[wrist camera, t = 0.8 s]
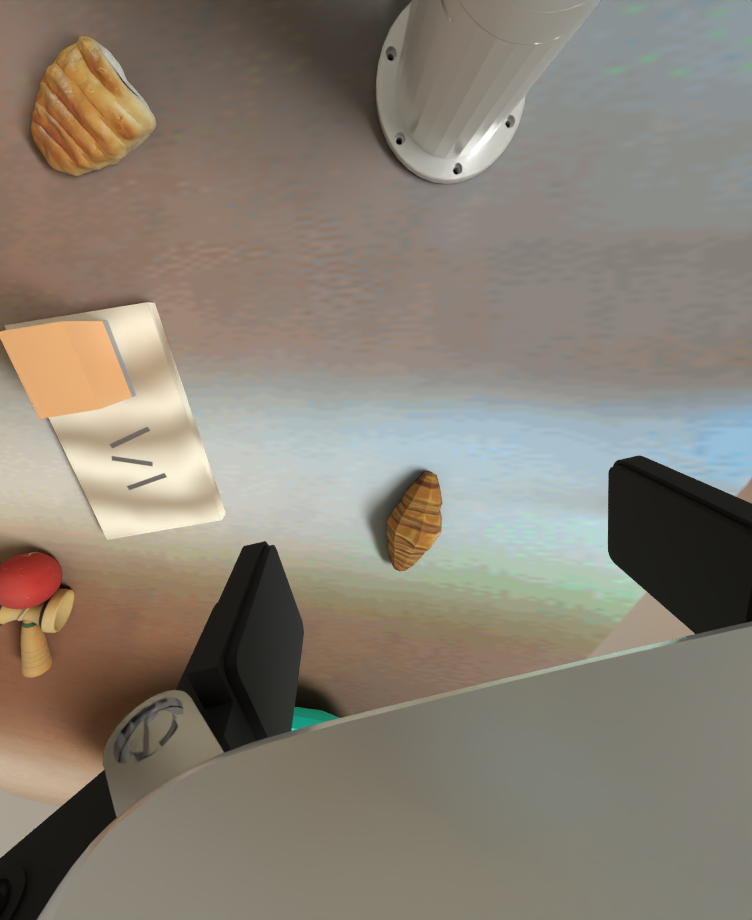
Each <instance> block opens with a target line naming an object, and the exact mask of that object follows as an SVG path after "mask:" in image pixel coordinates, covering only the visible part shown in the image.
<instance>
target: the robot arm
mask: <svg viewBox="0 0 752 920" xmlns="http://www.w3.org/2000/svg"><path fill="white" fill-rule="evenodd" d="M600 1H601V0H412V1H411V2H410V3H409V4H408V5H407V6H406V7H405V8H404V9H403V10H402V12H401V13H400V14H399V16H398V17H397V19H396V20H395V22H394V23H393V25H392V26H391V28H390V30H389V33H388V35H387V37H386V39H385V42H384V44H383V47H382V51H381V55H380V59H379V63H378V69H377V77H376V104H377V112H378V117H379V121H380V125H381V128H382V132H383V134H384V136H385V138H386V140H387V143H388V145H389V147H390V148H391V150H392V151H393V153H394V154H395V156H396V157H397V159H398V160H399V161H400V162H401V163H402V164H403V165H404V166H405V167H406V168H407V169H408V170H410V171H411V172H413V173H414V174H416V175H417V176H419V177H420V178H423V179H426V180H428V181H431V182H435V183H443V184H450V183H459V182H462V181H465V180H468V179H471V178H473V177H475V176H476V175H478V174H480V173H481V172H483V171H484V170H485V169H487V168H488V167H489V166H490V165H491V164H492V163H493V162H494V161H495V160H496V159H497V158H498V157H499V156H500V155H501V154H502V153H503V151H504V150H505V148H506V147H507V145H508V144H509V142H510V141H511V139H512V137H513V135H514V133H515V131H516V129H517V127H518V125H519V122H520V118H521V115H522V111H523V108H524V103H525V96H526V93H527V92H528V91H529V90H530V88H531V87H532V86H533V85H534V83H535V82H536V81H537V80H538V78H539V77H540V76H541V75H542V74H543V72H544V71H545V70H546V69H547V67H548V66H549V65H550V64H551V62H552V61H553V60H554V59H555V57H556V56H557V55H558V54H559V52H560V51H561V50H562V49H563V48H564V46H565V45H566V44H567V43H568V41H569V40H570V39H571V38H572V36H573V35H574V34H575V33H576V31H577V30H578V29H579V28H580V26H581V25H582V24H583V23H584V21H585V20H586V19H587V18H588V17H589V15H590V14H591V13H592V12H593V10H594V9H595V8H596V6H597V5H598V4H599V2H600ZM389 57H391V58H392V59H393V61H390V60H388V59H387V58H389ZM505 123H506V124H508V128H507V126H506V125H505ZM397 140H400V141H401V143H402V144H401V145H398V144H397V143H396V141H397ZM454 169H455V170H457V175H455V174H454V173H453V170H454ZM608 552H609V556H610V558H611V559H612V561H613V562H614V563H615V564H616V565H617V566H618V567H619V568H620V569H622V570H623V571H624V572H625V573H626V574H627V575H629V576H630V577H631V578H632V579H633V580H634V581H635V582H637V583H638V584H639V585H640V586H641V587H642V588H643V589H645V590H646V591H647V592H648V593H649V594H650V595H651V596H653V597H654V598H655V599H656V600H657V601H658V602H660V603H661V604H662V605H663V606H664V607H665V608H666V609H667V610H669V611H670V612H671V613H672V614H673V615H674V616H676V617H677V618H678V619H679V620H680V621H681V622H682V623H684V624H685V625H686V626H687V627H688V628H689V629H690V630H692V631H693V632H694V633H695V634H694V635H691V636H686V637H681V638H677V639H672V640H668V641H664V642H659V643H655V644H650V645H646V646H642V647H637V648H633V649H629V650H624V651H620V652H616V653H611V654H607V655H603V656H598V657H594V658H590V659H585V660H581V661H577V662H573V663H568V664H564V665H560V666H555V667H551V668H547V669H543V670H538V671H534V672H530V673H526V674H521V675H517V676H513V677H508V678H504V679H500V680H496V681H491V682H487V683H483V684H479V685H475V686H471V687H466V688H462V689H458V690H454V691H450V692H446V693H441V694H437V695H433V696H429V697H425V698H421V699H416V700H412V701H408V702H404V703H400V704H395V705H391V706H387V707H383V708H379V709H375V710H370V711H366V712H362V713H358V714H355V715H351V716H347V717H343V718H339V719H335V720H331V721H327V722H323V723H319V724H315V725H311V726H308V727H304V728H300V729H297V730H293V731H292V723H293V715H294V707H295V699H296V691H297V683H298V675H299V667H300V660H301V652H302V644H303V636H304V629H303V623H302V619H301V617H300V614H299V611H298V608H297V605H296V603H295V600H294V597H293V594H292V591H291V589H290V586H289V583H288V580H287V577H286V575H285V572H284V569H283V566H282V563H281V561H280V558H279V555H278V552H277V550H276V547H275V546H274V545H271V546H269V545H268V544H267V542H265V541H264V542H260V543H256V544H251V545H247V546H244V547H243V548H242V550H241V553H240V555H239V557H238V559H237V562H236V564H235V566H234V568H233V570H232V573H231V575H230V577H229V579H228V582H227V584H226V586H225V588H224V590H223V593H222V595H221V597H220V599H219V602H218V603H216V605H215V606H214V608H213V610H212V612H211V614H210V617H209V619H208V621H207V623H206V625H205V628H204V630H203V632H202V634H201V636H200V639H199V641H198V643H197V645H196V647H195V649H194V652H193V654H192V656H191V658H190V660H189V663H188V665H187V667H186V669H185V671H184V673H183V676H182V678H181V680H180V682H179V684H178V687H177V689H176V690H172V691H165V692H163V693H160V694H158V695H155V696H153V697H151V698H149V699H148V700H146V701H145V702H143V703H141V704H140V705H139V706H137V707H136V708H135V709H134V710H133V711H131V712H130V713H129V714H128V715H127V716H126V717H125V718H124V719H123V720H122V721H121V723H120V724H119V725H118V726H117V727H116V728H115V730H114V732H113V733H112V735H111V736H110V738H109V739H108V741H107V744H106V747H105V750H104V752H103V766H104V771H102V772H101V773H100V774H99V775H98V776H97V777H95V778H94V779H93V780H92V781H91V782H90V783H88V784H87V785H86V786H85V787H84V788H82V789H81V790H80V791H79V792H78V793H77V794H75V795H74V796H73V797H72V798H71V799H70V800H68V801H67V802H66V803H65V804H64V805H62V806H61V807H60V808H59V809H58V810H57V811H55V812H54V813H53V814H52V815H51V816H49V817H48V818H47V819H46V820H45V821H44V822H42V823H41V824H40V825H39V826H38V827H37V828H35V829H34V830H33V831H32V832H31V833H29V834H28V835H27V836H26V837H25V838H24V839H22V840H21V841H20V842H19V843H18V844H17V845H15V846H14V847H13V848H12V849H11V850H10V851H8V852H7V853H6V854H5V855H4V856H2V857H1V858H0V920H752V504H751V503H749V502H746V501H744V500H742V499H740V498H737V497H735V496H733V495H731V494H728V493H726V492H724V491H721V490H719V489H717V488H714V487H712V486H710V485H708V484H705V483H703V482H701V481H698V480H696V479H694V478H691V477H689V476H687V475H685V474H682V473H680V472H678V471H675V470H673V469H671V468H668V467H666V466H664V465H662V464H659V463H657V462H655V461H652V460H650V459H648V458H645V457H643V456H635V457H631V458H626V459H622V460H617V461H616V462H615V463H614V465H613V467H611V468H610V470H609V485H608Z"/></svg>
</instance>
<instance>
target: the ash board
mask: <svg viewBox="0 0 752 920" xmlns="http://www.w3.org/2000/svg"><path fill="white" fill-rule="evenodd" d="M61 321H108V323H109V326H110V328H111V331H112V333H113V336H114V339H115V341H116V344H117V346H118V349H119V352H120V354H121V357H122V359H123V362H124V365H125V367H126V370H127V372H128V375H129V378H130V380H131V383H132V385H133V388H134V391H135V393H136V396H134V397H131V398H129V399H126V400H123V401H120V402H118V403H115V404H112V405H110V406H107V407H104V408H101V409H98V410H92V411H86V412H80V413H74V414H68V415H62V416H56V417H50V418H49V420H50V422H51V424H52V426H53V428H54V430H55V432H56V435H57V437H58V439H59V441H60V443H61V445H62V447H63V449H64V451H65V453H66V455H67V457H68V459H69V462H70V464H71V466H72V468H73V470H74V472H75V474H76V476H77V478H78V480H79V482H80V484H81V486H82V489H83V491H84V493H85V495H86V497H87V499H88V501H89V503H90V505H91V507H92V509H93V511H94V514H95V516H96V518H97V520H98V522H99V524H100V526H101V528H102V530H103V532H104V534H105V536H106V538H107V540H109V539H114V538H120V537H126V536H132V535H137V534H143V533H149V532H155V531H161V530H166V529H172V528H178V527H184V526H190V525H195V524H201V523H207V522H213V521H218V520H222V519H223V517H224V516H225V514H226V513H225V510H224V507H223V504H222V501H221V498H220V495H219V492H218V489H217V486H216V483H215V480H214V477H213V474H212V471H211V468H210V465H209V462H208V459H207V456H206V454H205V451H204V448H203V445H202V442H201V439H200V436H199V433H198V430H197V427H196V424H195V421H194V418H193V415H192V412H191V409H190V406H189V403H188V400H187V397H186V394H185V391H184V388H183V385H182V382H181V379H180V376H179V373H178V370H177V368H176V365H175V362H174V359H173V356H172V353H171V350H170V347H169V344H168V341H167V338H166V335H165V332H164V329H163V326H162V323H161V320H160V317H159V314H158V311H157V308H156V305H155V303H149V302H146V303H140V304H134V305H127V306H121V307H115V308H109V309H103V310H96V311H90V312H84V313H78V314H71V315H65V316H59V317H53V318H47V319H40V320H34V321H28V322H22V323H15V324H9V325H4V326H5V328H6V330H11V329H17V328H23V327H30V326H36V325H42V324H48V323H54V322H61Z"/></svg>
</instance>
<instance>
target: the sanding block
mask: <svg viewBox="0 0 752 920" xmlns="http://www.w3.org/2000/svg"><path fill="white" fill-rule="evenodd" d="M0 339H1V341H2V343H3V345H4V347H5V349H6V351H7V353H8V355H9V357H10V359H11V362H12V364H13V366H14V368H15V370H16V372H17V374H18V376H19V378H20V380H21V382H22V384H23V386H24V388H25V390H26V392H27V394H28V396H29V398H30V400H31V402H32V404H33V406H34V408H35V410H36V413H37V415H38V417H39V419H43V418H50V417H56V416H62V415H68V414H74V413H80V412H86V411H92V410H98V409H101V408H104V407H107V406H110V405H112V404H115V403H118V402H120V401H123V400H126V399H129V398H131V397H134V396H136V393H135V391H134V388H133V385H132V383H131V380H130V378H129V375H128V372H127V370H126V367H125V365H124V362H123V359H122V357H121V354H120V352H119V349H118V346H117V344H116V341H115V339H114V336H113V333H112V331H111V328H110V326H109V323H108V321H61V322H54V323H48V324H42V325H36V326H30V327H23V328H17V329H11V330H5V331H0Z"/></svg>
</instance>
